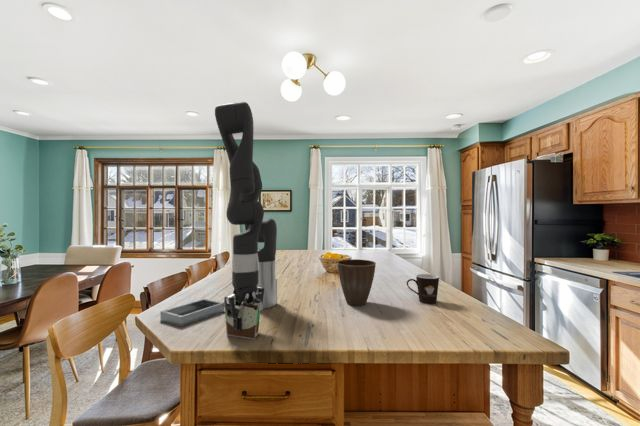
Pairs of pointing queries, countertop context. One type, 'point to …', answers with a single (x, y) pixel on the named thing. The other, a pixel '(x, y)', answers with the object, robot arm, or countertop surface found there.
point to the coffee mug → (426, 288)
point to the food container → (246, 320)
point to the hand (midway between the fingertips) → (245, 326)
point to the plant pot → (356, 280)
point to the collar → (175, 313)
